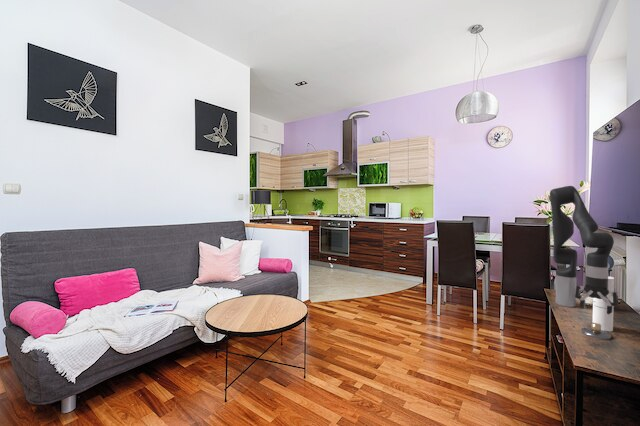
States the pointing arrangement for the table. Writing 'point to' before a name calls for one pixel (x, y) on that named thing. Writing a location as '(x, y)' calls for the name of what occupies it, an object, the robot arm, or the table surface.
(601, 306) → the cylindrical container
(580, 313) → the table surface
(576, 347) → the table surface
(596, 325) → the lid
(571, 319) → the table surface
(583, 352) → the table surface
